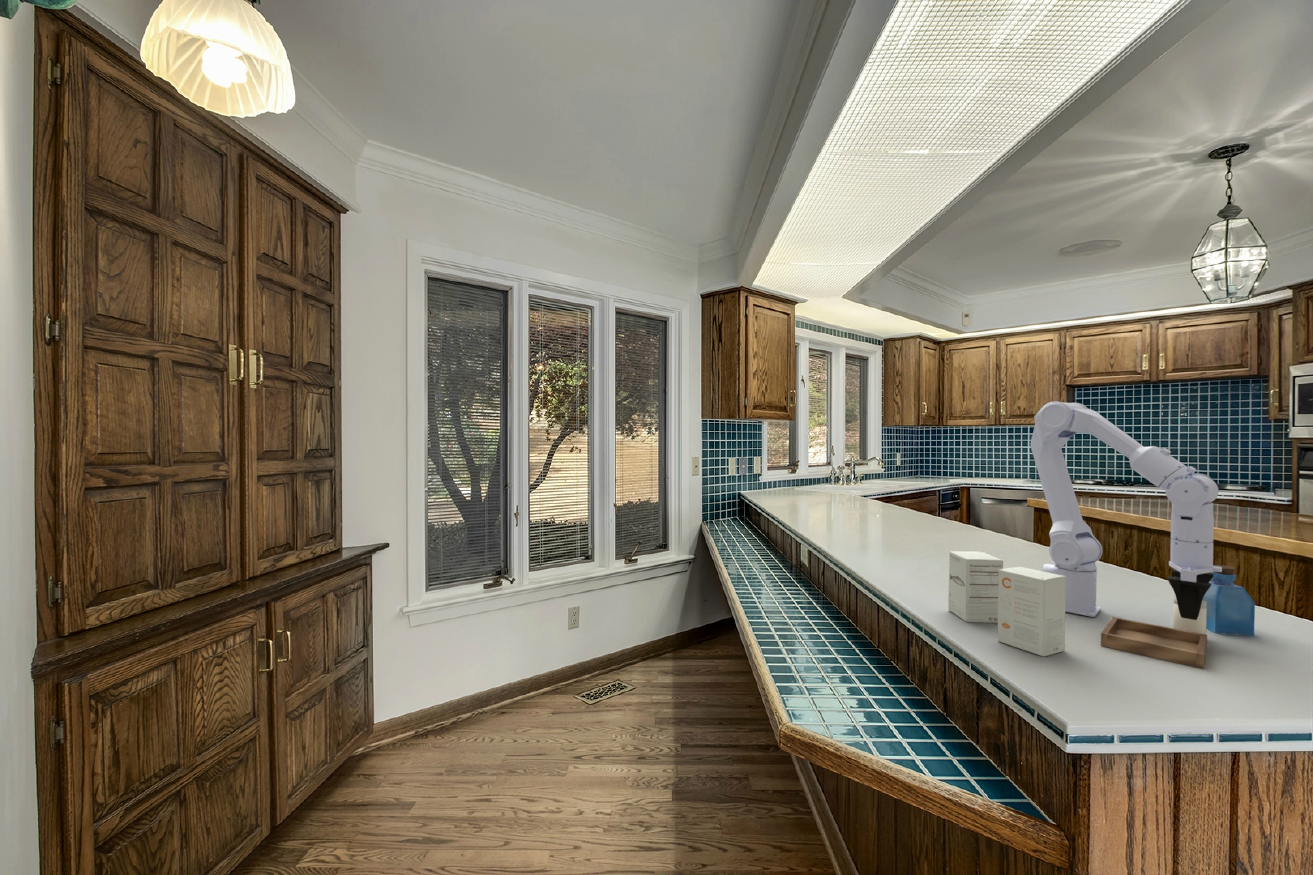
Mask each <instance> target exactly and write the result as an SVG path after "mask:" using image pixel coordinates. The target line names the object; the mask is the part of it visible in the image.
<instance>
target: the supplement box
mask: <svg viewBox="0 0 1313 875" xmlns="http://www.w3.org/2000/svg"><path fill="white" fill-rule="evenodd" d="M948 562H949V563H948V564H949V566H948V568H949V569H948V573H949V574H948V600H947V601H948V606H947V608H948V611H949V612H951V613H953V614H954V615H956V616H957V617H959V618H960V619H961V620H963V621H964V622H967V623H989V624H990V623H992V624H993V623H994V624H998V582H999V569H1004V560H1003V559H1002V558H1001V559H1000V558H999V557H996V556H994V555H991V554H988V553H986V552H984V551H971V550H970V551H969V550H967V551H961V550H960V551H958V550H957V551H954V550H951V551H949V561H948Z"/></svg>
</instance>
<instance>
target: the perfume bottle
mask: <svg viewBox="0 0 1313 875" xmlns="http://www.w3.org/2000/svg"><path fill="white" fill-rule="evenodd" d="M1213 566H1218V567H1222V572H1211V573H1213V578H1212V579H1211V580H1210V581H1209V583H1211V587H1210V588H1209V589H1208V591H1207V592H1206V593H1205V595H1204V597H1203V600H1205V601H1206V602H1207V612H1206V630H1207V629H1208V630H1207V631H1209V630H1210V632H1211V631H1212V632H1211V633H1214V634H1220V633H1225V635H1235V634H1239V635H1238V636H1250V637H1251V636H1252V637H1253V636H1255V620H1256V619H1255V618H1256V617H1255V616H1256V615H1255V612H1256V610H1255V609H1256V602H1255V601H1254V600H1253V598H1252V597H1251V596H1250V594H1249V593H1248V592H1247V590H1246V589H1245V587H1243V586H1240V585H1237V584H1234V581H1236V578H1237V575H1236V574H1235V573H1234V572H1235V567H1233V566H1228V565H1221V564H1213Z"/></svg>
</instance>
